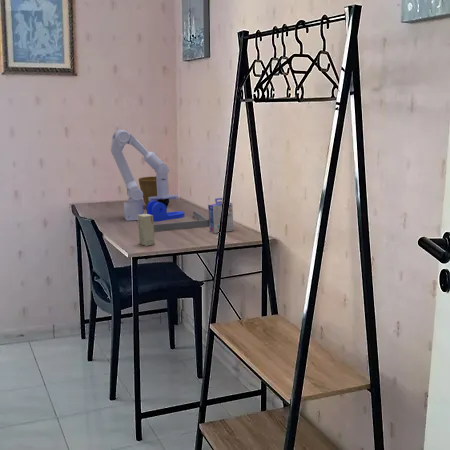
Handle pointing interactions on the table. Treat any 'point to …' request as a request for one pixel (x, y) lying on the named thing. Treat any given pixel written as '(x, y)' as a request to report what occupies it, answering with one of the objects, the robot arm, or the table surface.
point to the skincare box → (146, 229)
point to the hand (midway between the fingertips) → (164, 214)
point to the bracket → (162, 212)
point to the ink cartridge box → (216, 214)
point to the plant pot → (148, 187)
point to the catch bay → (184, 223)
